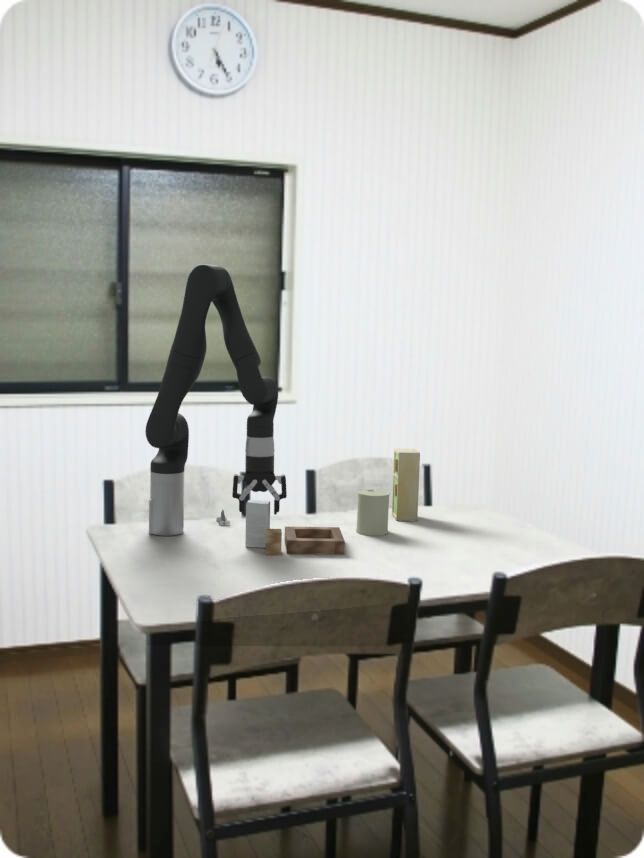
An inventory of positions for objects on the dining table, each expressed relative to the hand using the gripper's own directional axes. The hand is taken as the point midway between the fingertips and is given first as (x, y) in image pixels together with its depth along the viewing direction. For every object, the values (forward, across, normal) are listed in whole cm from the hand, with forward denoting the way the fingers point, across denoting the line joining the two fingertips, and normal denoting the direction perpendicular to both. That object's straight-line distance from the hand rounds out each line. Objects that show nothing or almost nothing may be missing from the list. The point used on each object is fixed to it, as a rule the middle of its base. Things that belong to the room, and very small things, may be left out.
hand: (259, 513), depth 244 cm
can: (+9, +32, +17) cm, 38 cm away
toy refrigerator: (+9, +44, +35) cm, 58 cm away
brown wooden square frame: (+9, +15, 0) cm, 17 cm away
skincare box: (+9, 0, 0) cm, 9 cm away
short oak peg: (+9, +4, -7) cm, 12 cm away
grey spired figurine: (+9, -10, +21) cm, 25 cm away
